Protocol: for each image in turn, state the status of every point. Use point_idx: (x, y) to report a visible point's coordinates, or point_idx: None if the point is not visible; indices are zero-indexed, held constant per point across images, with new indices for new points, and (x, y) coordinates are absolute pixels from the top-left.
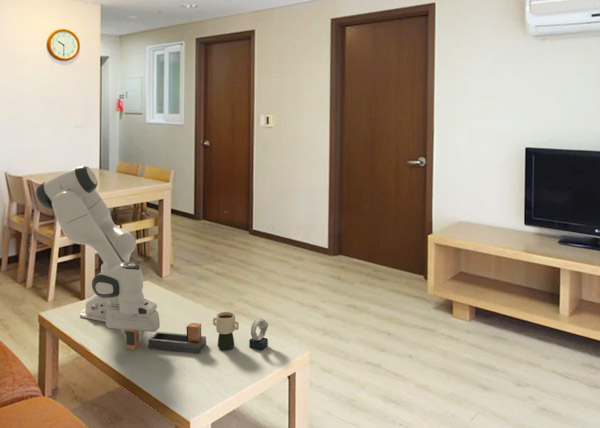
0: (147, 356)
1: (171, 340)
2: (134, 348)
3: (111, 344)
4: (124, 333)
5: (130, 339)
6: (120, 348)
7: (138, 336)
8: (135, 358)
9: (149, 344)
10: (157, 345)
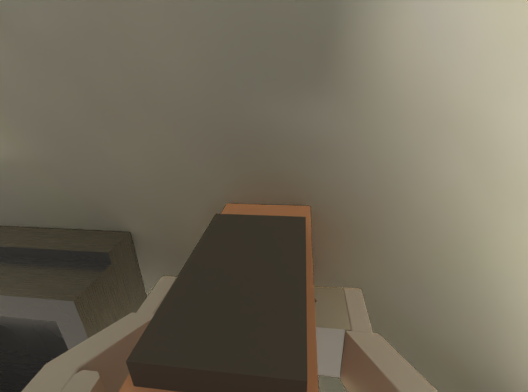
0: (32, 96)
1: (5, 336)
2: (231, 206)
3: (515, 256)
4: (382, 367)
5: (239, 256)
6: (382, 197)
7: (145, 320)
8: (104, 17)
9: (103, 263)
10: (27, 255)
